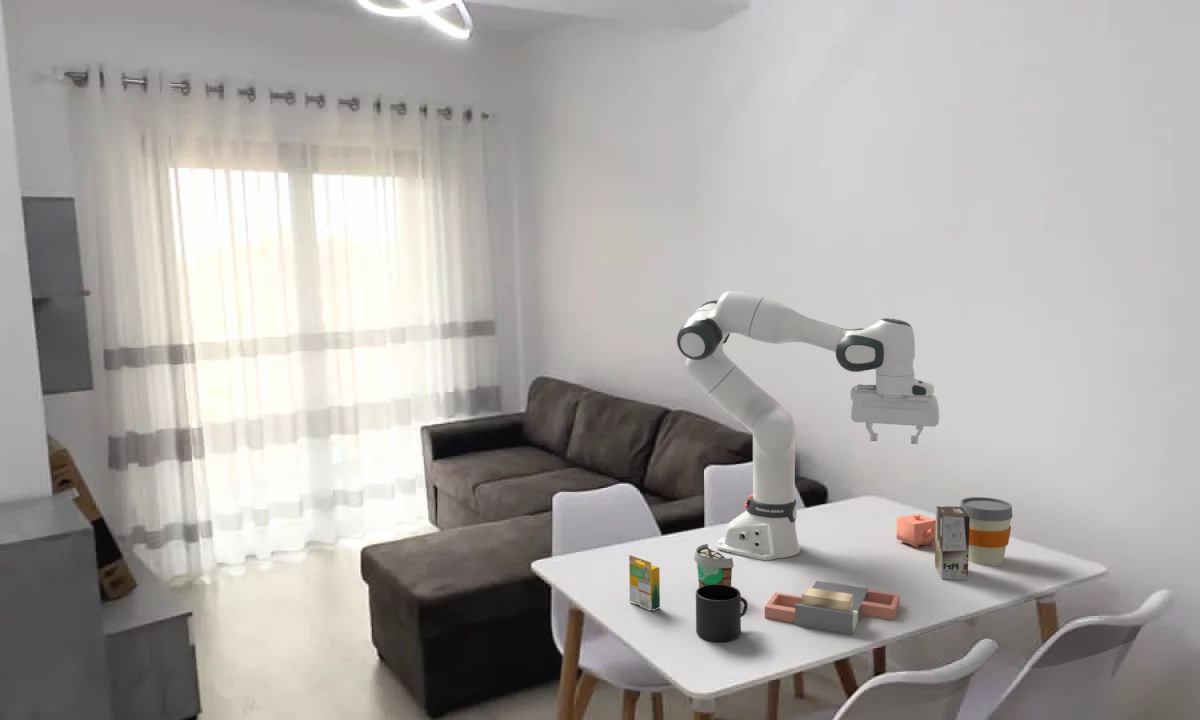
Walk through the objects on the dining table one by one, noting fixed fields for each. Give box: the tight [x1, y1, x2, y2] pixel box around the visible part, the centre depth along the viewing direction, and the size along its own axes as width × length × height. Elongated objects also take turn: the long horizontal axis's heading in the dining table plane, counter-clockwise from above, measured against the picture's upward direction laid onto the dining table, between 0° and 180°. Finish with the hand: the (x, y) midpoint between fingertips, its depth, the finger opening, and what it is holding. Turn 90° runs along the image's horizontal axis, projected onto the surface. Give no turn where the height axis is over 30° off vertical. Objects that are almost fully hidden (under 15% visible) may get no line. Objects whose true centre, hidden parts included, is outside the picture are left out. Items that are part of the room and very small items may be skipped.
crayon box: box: [628, 554, 661, 610], centre depth 194 cm, size 7×3×12 cm, turn 42°
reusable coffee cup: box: [959, 496, 1013, 566], centre depth 219 cm, size 13×13×15 cm
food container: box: [693, 543, 734, 588], centre depth 201 cm, size 12×6×10 cm, turn 23°
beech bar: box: [801, 587, 853, 612], centre depth 183 cm, size 10×4×4 cm, turn 63°
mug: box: [695, 584, 749, 643], centre depth 180 cm, size 9×12×9 cm
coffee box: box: [934, 505, 970, 581], centre depth 210 cm, size 9×6×16 cm
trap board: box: [764, 580, 901, 636], centre depth 189 cm, size 26×21×4 cm
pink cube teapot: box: [896, 513, 936, 548], centre depth 232 cm, size 8×12×8 cm, turn 23°
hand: (894, 442), depth 205 cm, fingers open, 8 cm apart
